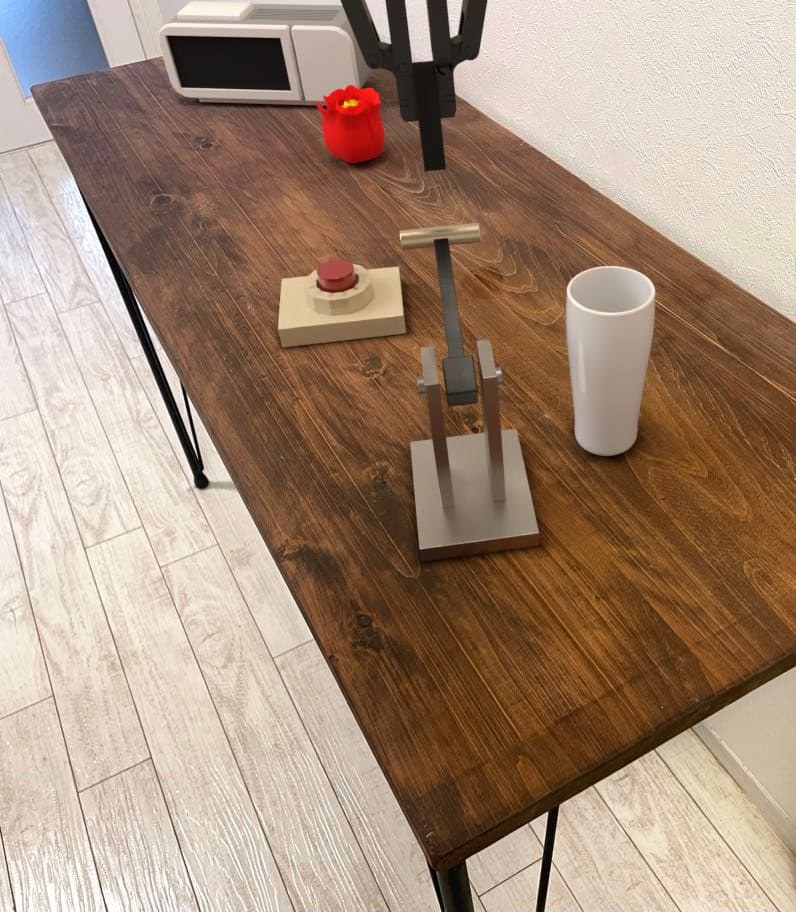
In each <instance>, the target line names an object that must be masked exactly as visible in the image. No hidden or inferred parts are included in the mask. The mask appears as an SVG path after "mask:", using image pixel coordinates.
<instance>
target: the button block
mask: <svg viewBox="0 0 796 912" xmlns="http://www.w3.org/2000/svg"><path fill="white" fill-rule="evenodd" d="M352 264H353V266H354V270H355V275H356V281H357V283H356V285H355V287H354V288H352V289H349V290H347V291H345V292H338V293H329V292H324V291H322V290H321V288H320V285H319V281H318V276H317V269H315V270H313V271H311V273H310V274H309V275H304V276H296V277H295V276H294V277H286V278H285V277H283V278H281V282H280V283H281V284H280V296H279V307H278V319H277V320H278V321H277V332H278V334H279V335H278V336H279V339H280V344H281V346H282V348H290V347H291V348H292V347H299V346H305V345H306V346H308V345H316V344H325V343H326V344H327V343H333V342H335V343H336V342H343V341H352V340H359V339H370V338H379V337H388V336H395V335H397V336H398V335H405V334H407V325H406V316H405V315H406V314H405V304H404V296H403V284H402V278H401V270H400V266H397V265H396V266H389V267H388V266H387V267H379V268H370V269H367V268H365V267H364V266H363V265H361V264H360V265H359V264H356V263H352Z"/></svg>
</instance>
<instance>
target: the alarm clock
mask: <svg viewBox="0 0 796 912" xmlns="http://www.w3.org/2000/svg"><path fill="white" fill-rule="evenodd" d="M157 40H158V41H157V42H158V46H159V49H160V52H161V56H162V59H163V61H164V62H163V63H164V65H165V69H166V73H167V76H168V79H169V82H170V84H171V86H172V88H173V89H174V90H175V91H176V92H177V93H178V94H179V95H181V96H182V97H184V98H189V99H198V101H199V103H224V104H225V103H226V104H227V103H228V104H258V105H259V104H260V105H262V104H263V105H292V106H295V105H297V106H298V105H299V106H317V103H320V104H321V105H322V106H323V107H324V106H326V107H327V105H326V103H325V100H324V98H323V95H324V96H329V95H330V94H331V93H332V92H333V91H335V90H337V89H343V90H345V88H346V87H347V86H349V85H353V86H355V87H356V88H358V89H363V88H364V86H365V84H366V82H367V81H368V80H369V78H370V77H371V75H372V74H373V71H374V70H375V69H371V68H370V67H368V66H367V64H366V63H365V60H364V58H363V55H362V53H361V50H360V48H359V45H358V43H357V40H356V38H355V35H354V33H353V30H352V28H351V26H350V23H349V21H348V18H347V16H346V13H345V11H344V8H343V6H342V4H341V5H337V4H287V3H283V4H282V3H281V4H280V3H253V2H252V1H251V2H248V1H246V2H245V1H195V0H193V1H190V2H189V3H188V4H186V5H185V6H184V7H183V8H182V9H181V10H179V11H178V12H177V13H176V15H175V16H174V17H173V18H171V20H169V21H168V22H167V23H165V24H164V25H163V26H161V28H159V31H158V33H157Z"/></svg>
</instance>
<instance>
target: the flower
mask: <svg viewBox="0 0 796 912" xmlns="http://www.w3.org/2000/svg"><path fill="white" fill-rule="evenodd" d="M323 98H324V100H325V103H326V105H327V106H326V110H325V107H324V106H322V105H321V104H320V103H317V105H316V107H317V109H318V111H319V112H320V114H321V117H322V123H321V124H322V125H321V128H322V136H323V141H324V144H325V146H326V149H327V150H328V151H329V153H331V154H332V155H333V156H335V157H336V158H337V159H339V160H342V161H344V162H346V163H349V164H357V163H362V162H366V161H369V160H373V159H375V158H378V156H379V155H381V154H382V152H383V150H384V145H385V129H384V124H383V121H382V116H381V112H380V109H381V105H382V101H380V94H379V93H378V91H377V92H376V91H375V88H373V87H366V88H361V89H358V88H356V87H355V86H353V85H349V86H347V87H346V88H345V90H343V89H337V90H335V91H333V92H332V93H331V94H330V95H329V96H324V95H323Z"/></svg>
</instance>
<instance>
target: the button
mask: <svg viewBox="0 0 796 912" xmlns="http://www.w3.org/2000/svg"><path fill="white" fill-rule="evenodd" d="M353 264H354V263H352V262H351V261H349V260H348V259H343V258H341V259H340V258H339V259H337V258H336V259H330V260H327V261H324V262H323V263H321V264H320V265H319V266H318V267H317V269H316V270H317V276H318V281H319V285H320V288H321V290H322V291H324V292H329V293H338V292H345V291H347V290H349V289H352V288H354V287H355V285H356V283H357V281H356V275H355V270H354V266H353Z"/></svg>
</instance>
